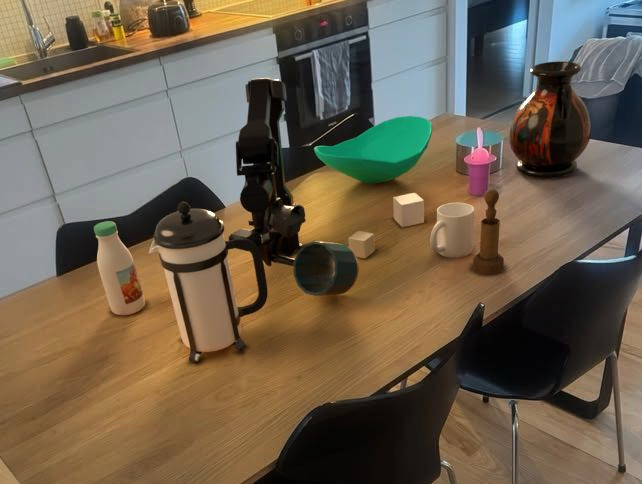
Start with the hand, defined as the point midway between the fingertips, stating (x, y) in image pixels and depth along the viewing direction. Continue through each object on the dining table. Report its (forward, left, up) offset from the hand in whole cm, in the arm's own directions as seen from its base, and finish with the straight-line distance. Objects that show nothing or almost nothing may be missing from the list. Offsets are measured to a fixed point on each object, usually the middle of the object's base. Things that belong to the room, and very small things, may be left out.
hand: (271, 264), depth 150 cm
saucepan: (+8, +6, -1) cm, 10 cm away
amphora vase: (+28, +91, -7) cm, 95 cm away
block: (+8, +24, -7) cm, 26 cm away
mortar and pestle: (+38, +29, -7) cm, 48 cm away
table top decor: (-15, +68, -7) cm, 70 cm away
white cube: (+9, +45, -7) cm, 46 cm away
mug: (+27, +32, -7) cm, 42 cm away
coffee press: (+3, -22, -7) cm, 23 cm away
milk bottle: (-26, -21, -7) cm, 34 cm away
